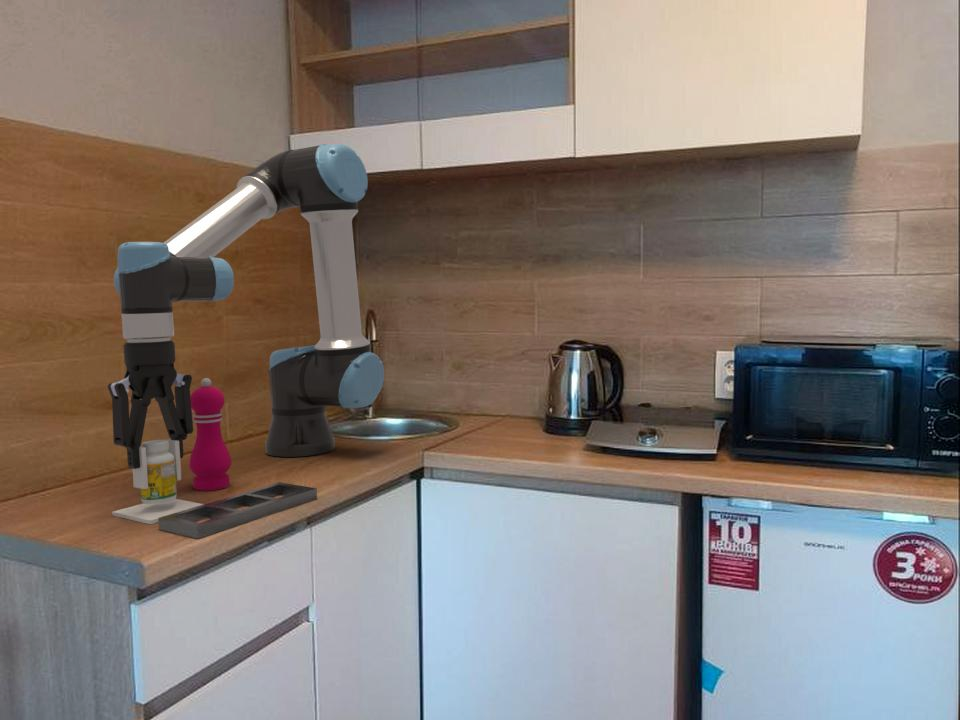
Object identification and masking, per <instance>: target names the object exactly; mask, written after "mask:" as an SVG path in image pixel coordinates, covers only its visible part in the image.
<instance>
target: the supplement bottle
mask: <svg viewBox="0 0 960 720" xmlns="http://www.w3.org/2000/svg"><path fill="white" fill-rule="evenodd" d="M141 447H145V448H146V459H147V475H148V488H147V489H141V488H139V490H140V500H141V502H142V504H143V503H145V504H161V503H166V502H170V501H173V500H174V499H177V494H178V493H177V492H178V491H177V480H176V475H175V460H174V456H173V454H171V453H169V452H168V450H169V441H168V439H153V440H148V441H144V442H141Z"/></svg>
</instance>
